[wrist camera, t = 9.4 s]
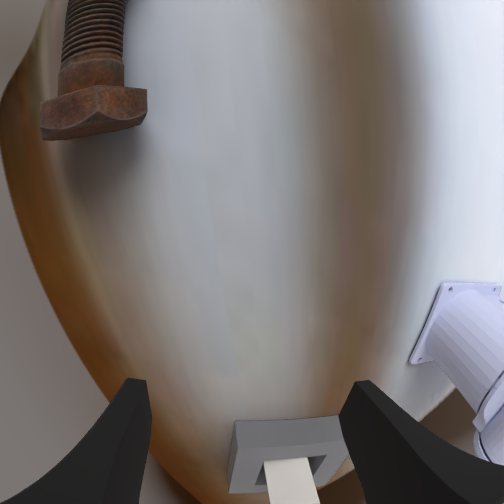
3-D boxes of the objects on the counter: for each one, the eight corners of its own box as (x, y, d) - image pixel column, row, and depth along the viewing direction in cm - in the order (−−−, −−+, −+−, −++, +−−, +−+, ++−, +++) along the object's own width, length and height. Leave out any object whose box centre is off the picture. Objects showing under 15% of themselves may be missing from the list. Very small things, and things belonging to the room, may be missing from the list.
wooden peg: (300, 433, 25) (319, 501, 17) (304, 450, 26) (321, 511, 19) (260, 442, 25) (271, 512, 17) (268, 459, 26) (279, 521, 19)
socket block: (350, 413, 24) (360, 436, 22) (318, 466, 28) (324, 485, 25) (235, 420, 23) (237, 448, 20) (226, 472, 27) (228, 493, 24)
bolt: (137, -53, 10) (128, 131, 15) (69, -51, 8) (46, 145, 13) (169, -101, 6) (157, 114, 11) (85, -104, 3) (37, 132, 8)
